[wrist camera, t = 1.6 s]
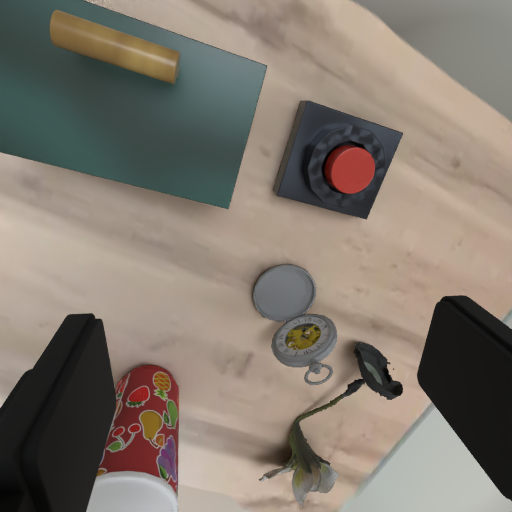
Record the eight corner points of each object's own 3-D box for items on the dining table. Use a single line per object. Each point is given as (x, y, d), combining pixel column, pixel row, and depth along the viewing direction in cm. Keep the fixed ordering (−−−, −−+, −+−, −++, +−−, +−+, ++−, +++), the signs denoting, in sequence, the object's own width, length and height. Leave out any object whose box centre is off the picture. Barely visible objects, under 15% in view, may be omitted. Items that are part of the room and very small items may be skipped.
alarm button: (318, 182, 29) (324, 187, 28) (333, 139, 28) (341, 141, 27) (356, 193, 30) (364, 198, 29) (372, 152, 29) (382, 154, 27)
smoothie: (94, 381, 39) (-3, 626, 21) (152, 341, 38) (103, 563, 20) (146, 421, 42) (101, 662, 24) (201, 386, 41) (197, 610, 23)
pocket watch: (276, 250, 35) (300, 302, 26) (338, 287, 38) (379, 346, 29) (232, 310, 38) (240, 378, 28) (293, 341, 40) (319, 411, 31)
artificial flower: (393, 351, 45) (446, 428, 37) (280, 443, 53) (305, 521, 45) (352, 335, 40) (404, 419, 32) (234, 439, 47) (254, 526, 40)
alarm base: (272, 189, 33) (280, 200, 29) (300, 100, 30) (313, 100, 26) (357, 212, 35) (375, 225, 31) (391, 131, 32) (415, 134, 28)
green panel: (-11, -32, 19) (-78, -72, 15) (265, 66, 23) (280, 58, 18) (-13, 145, 23) (-68, 156, 18) (227, 206, 26) (232, 228, 22)
